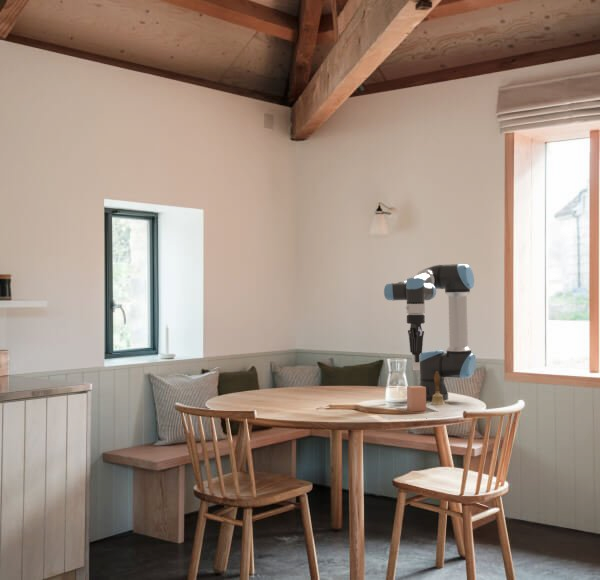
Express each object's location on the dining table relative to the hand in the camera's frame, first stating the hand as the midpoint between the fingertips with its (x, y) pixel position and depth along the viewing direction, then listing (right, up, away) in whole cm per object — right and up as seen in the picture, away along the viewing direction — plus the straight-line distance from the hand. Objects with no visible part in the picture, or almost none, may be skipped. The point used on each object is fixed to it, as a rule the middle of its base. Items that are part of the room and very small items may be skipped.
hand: (416, 369), depth 334 cm
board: (0, -18, 0) cm, 18 cm away
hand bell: (+12, -19, +19) cm, 29 cm away
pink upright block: (0, -17, 0) cm, 17 cm away
